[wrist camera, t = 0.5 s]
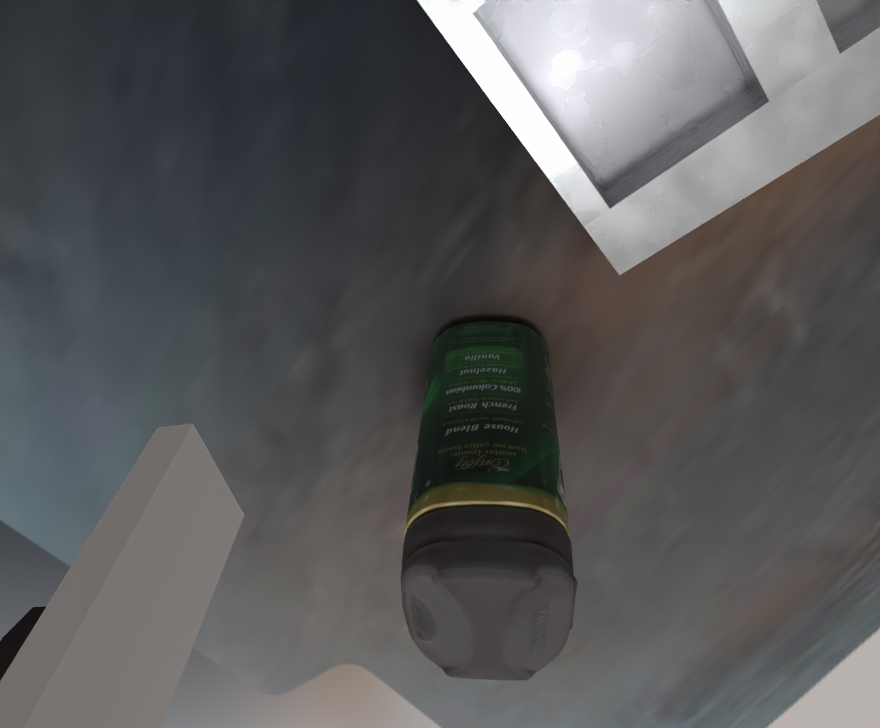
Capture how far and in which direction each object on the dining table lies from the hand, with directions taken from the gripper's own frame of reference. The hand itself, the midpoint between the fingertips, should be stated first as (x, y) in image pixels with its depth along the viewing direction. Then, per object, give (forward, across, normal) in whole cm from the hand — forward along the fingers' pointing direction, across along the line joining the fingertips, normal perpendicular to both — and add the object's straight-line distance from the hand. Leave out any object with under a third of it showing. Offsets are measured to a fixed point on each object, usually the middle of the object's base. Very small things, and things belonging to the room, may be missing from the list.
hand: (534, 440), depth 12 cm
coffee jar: (+24, -3, -17) cm, 30 cm away
